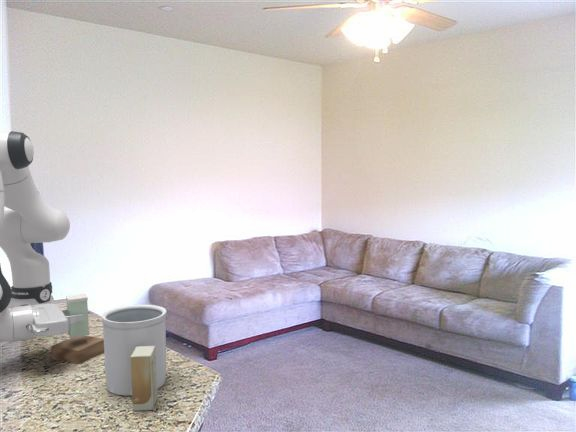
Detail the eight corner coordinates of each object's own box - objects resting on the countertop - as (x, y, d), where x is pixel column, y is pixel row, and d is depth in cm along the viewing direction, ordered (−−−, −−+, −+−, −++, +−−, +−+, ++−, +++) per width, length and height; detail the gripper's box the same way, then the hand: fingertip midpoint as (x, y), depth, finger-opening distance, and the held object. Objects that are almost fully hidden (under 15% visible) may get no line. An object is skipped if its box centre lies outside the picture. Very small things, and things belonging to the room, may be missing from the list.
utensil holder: (180, 375, 126) (178, 306, 124) (145, 401, 112) (142, 324, 110) (130, 368, 130) (127, 302, 129) (91, 392, 116) (87, 318, 115)
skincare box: (138, 398, 113) (136, 345, 112) (158, 397, 114) (155, 344, 112) (132, 412, 107) (129, 356, 106) (152, 411, 107) (150, 355, 106)
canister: (70, 338, 137) (68, 299, 136) (67, 333, 141) (65, 296, 140) (89, 335, 139) (87, 297, 138) (86, 330, 143) (84, 293, 142)
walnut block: (52, 360, 138) (51, 346, 138) (80, 348, 147) (79, 334, 147) (79, 365, 134) (78, 350, 134) (106, 352, 143) (106, 338, 143)
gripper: (28, 320, 124) (87, 311, 131) (21, 303, 141) (74, 295, 148) (29, 345, 124) (88, 335, 131) (22, 325, 141) (75, 316, 149)
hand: (81, 314), depth 140 cm, fingers closed on canister, 5 cm apart
